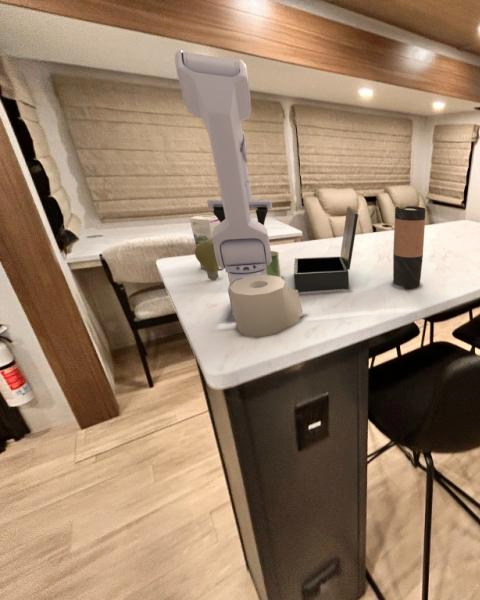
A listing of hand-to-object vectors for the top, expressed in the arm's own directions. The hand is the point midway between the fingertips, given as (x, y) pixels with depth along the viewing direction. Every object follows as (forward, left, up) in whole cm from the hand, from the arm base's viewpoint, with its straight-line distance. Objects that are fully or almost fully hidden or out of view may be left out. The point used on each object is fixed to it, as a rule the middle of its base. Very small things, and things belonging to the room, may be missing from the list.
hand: (245, 236), depth 82 cm
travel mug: (-16, -40, -11) cm, 45 cm away
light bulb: (-3, +9, -11) cm, 14 cm away
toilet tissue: (-32, -8, -11) cm, 34 cm away
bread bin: (-11, -18, -11) cm, 24 cm away
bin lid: (-11, -25, +2) cm, 28 cm away
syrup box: (+9, +11, -11) cm, 17 cm away
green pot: (-5, -5, -11) cm, 13 cm away
